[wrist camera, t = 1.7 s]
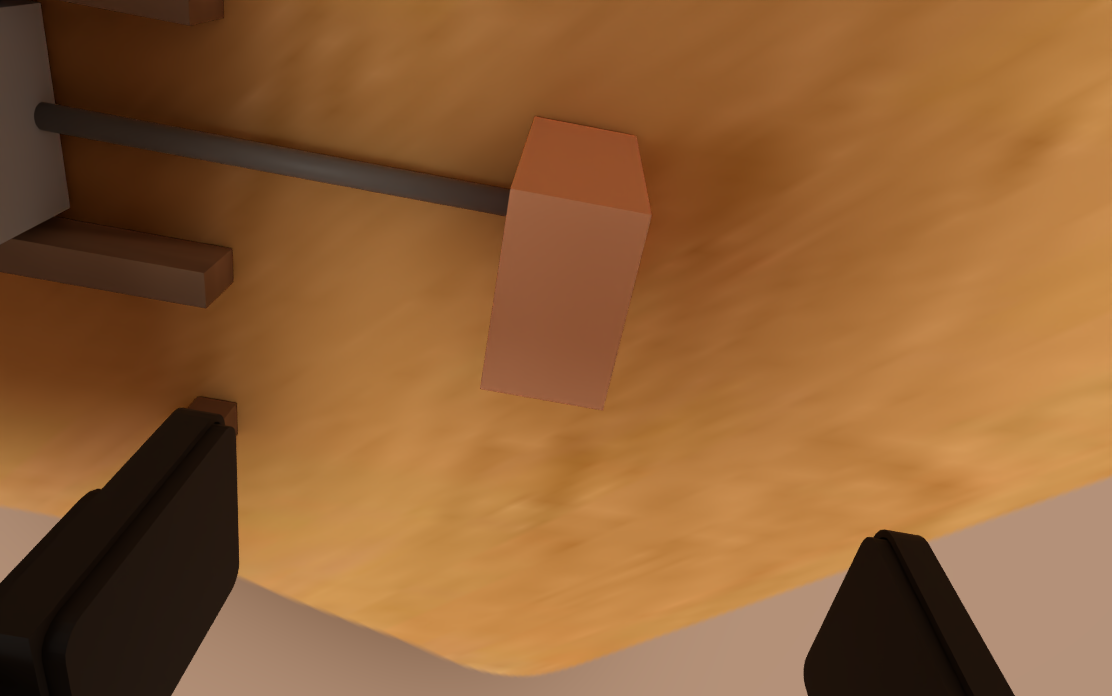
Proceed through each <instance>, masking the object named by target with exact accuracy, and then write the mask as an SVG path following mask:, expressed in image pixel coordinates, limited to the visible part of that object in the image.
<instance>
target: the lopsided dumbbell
mask: <svg viewBox="0 0 1112 696" xmlns="http://www.w3.org/2000/svg"><path fill="white" fill-rule="evenodd" d="M59 133H60V134H65V135H70V136H76V137H81V138H87V139H92V140H97V141H103V142H108V143H113V144H119V145H124V146H130V147H135V148H140V149H146V150H151V151H157V152H162V153H167V154H173V155H178V156H184V157H189V158H194V159H200V160H205V161H210V162H216V163H221V164H227V165H232V166H237V167H243V168H248V169H254V170H259V171H264V172H270V173H275V174H280V175H286V176H291V177H297V178H302V179H307V180H313V181H318V182H324V183H329V184H334V185H340V186H345V187H351V188H356V189H361V190H367V191H372V192H377V193H383V194H388V195H394V196H399V197H404V198H410V199H415V200H421V201H426V202H431V203H437V204H442V205H447V206H453V207H458V208H464V209H469V210H474V211H480V212H485V213H491V214H496V215H501V216H506V221H505V228H504V235H503V241H502V248H501V254H500V261H499V268H498V274H497V281H496V287H495V294H494V301H493V307H492V314H491V320H490V327H489V334H488V340H487V347H486V353H485V360H484V367H483V373H482V380H481V386H480V389H483V390H489V391H495V392H501V393H506V394H512V395H518V396H523V397H529V398H535V399H541V400H546V401H552V402H558V403H563V404H569V405H575V406H581V407H586V408H592V409H598V410H603V408H604V404H605V400H606V396H607V392H608V388H609V384H610V380H611V376H612V372H613V368H614V364H615V360H616V356H617V352H618V348H619V344H620V340H621V336H622V332H623V328H624V324H625V320H626V316H627V312H628V308H629V304H630V300H631V296H632V292H633V288H634V284H635V280H636V276H637V272H638V268H639V264H640V260H641V256H642V253H643V249H644V245H645V241H646V237H647V233H648V229H649V225H650V221H651V217H652V213H651V208H650V203H649V198H648V193H647V188H646V182H645V177H644V172H643V167H642V162H641V157H640V152H639V147H638V142H637V137H636V136H635V135H630V134H624V133H619V132H614V131H609V130H603V129H598V128H593V127H588V126H583V125H577V124H572V123H567V122H562V121H557V120H551V119H546V118H541V117H536V116H535V117H534V120H533V123H532V126H531V129H530V132H529V135H528V138H527V141H526V144H525V147H524V150H523V153H522V156H521V159H520V162H519V165H518V168H517V171H516V174H515V176H514V179H513V182H512V185H511V188H510V189H505V188H500V187H495V186H489V185H484V184H479V183H473V182H468V181H463V180H457V179H452V178H447V177H441V176H436V175H431V174H425V173H420V172H415V171H409V170H404V169H399V168H393V167H388V166H383V165H377V164H372V163H367V162H361V161H356V160H351V159H345V158H340V157H334V156H329V155H324V154H318V153H313V152H308V151H302V150H297V149H292V148H286V147H281V146H276V145H270V144H265V143H260V142H254V141H249V140H244V139H238V138H233V137H228V136H222V135H217V134H212V133H206V132H201V131H196V130H190V129H185V128H180V127H174V126H169V125H164V124H158V123H153V122H148V121H142V120H137V119H132V118H126V117H121V116H116V115H110V114H105V113H100V112H94V111H89V110H84V109H78V108H73V107H67V106H62V105H57V104H55V99H54V92H53V86H52V79H51V72H50V65H49V58H48V51H47V44H46V37H45V30H44V24H43V17H42V10H41V3H39V2H34V1H29V0H0V244H2V243H4V242H6V241H8V240H10V239H12V238H14V237H15V236H17V235H19V234H21V233H23V232H25V231H27V230H29V229H31V228H33V227H35V226H36V225H38V224H40V223H42V222H44V221H46V220H48V219H50V218H52V217H54V216H56V215H57V214H59V213H61V212H63V211H65V210H67V209H69V208H70V203H69V196H68V189H67V182H66V175H65V168H64V161H63V154H62V148H61V141H60V134H59Z"/></svg>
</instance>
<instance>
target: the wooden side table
mask: <svg viewBox="0 0 1112 696" xmlns="http://www.w3.org/2000/svg"><path fill="white" fill-rule="evenodd" d="M60 1H65V2H70V3H75V4H81V5H86V6H91V7H96V8H101V9H106V10H112V11H117V12H122V13H127V14H132V15H137V16H143V17H148V18H153V19H158V20H163V21H168V22H174V23H179V24H184V25H189V26H191V25H195V24H199V23H204V22H208V21H212V20H217V19H221V18H224V12H223V0H60ZM0 272H3V273H9V274H15V275H20V276H26V277H32V278H37V279H43V280H49V281H54V282H60V283H66V284H71V285H77V286H83V287H88V288H94V289H99V290H105V291H111V292H116V293H122V294H128V295H133V296H139V297H145V298H150V299H156V300H162V301H167V302H173V303H179V304H184V305H190V306H196V307H201V308H207V307H208V306H209V305H210V304H211V303H212V302H213V301H214V300H215V299H216V298H217V297H218V296H219V295H220V294H221V293H222V292H224V291H225V290H226V289H227V288H228V287H229V286H230V285H231V284H232V283H233V259H232V249H231V248H225V247H220V246H214V245H209V244H203V243H198V242H192V241H187V240H181V239H176V238H170V237H164V236H159V235H153V234H148V233H142V232H137V231H131V230H126V229H120V228H115V227H109V226H104V225H98V224H93V223H87V222H81V221H76V220H70V219H65V218H59V217H52V218H50V219H48V220H46V221H44V222H42V223H40V224H38V225H36V226H35V227H33V228H31V229H29V230H27V231H25V232H23V233H21V234H19V235H17V236H15V237H14V238H12V239H10V240H8V241H6V242H4V243H2V244H0ZM187 409H193V410H199V411H205V412H210V413H216V414H220V415H222V416H223V418H224V420H225V425H226V426H232V427H233V428H234V429H235V432H236V435H237V434H238V433H237V406H236V403H233V402H227V401H221V400H216V399H210V398H204V397H197V398H196V399H195V400H194V401H193V403H192V404H191V405H190V406H189V407H188V408H187Z"/></svg>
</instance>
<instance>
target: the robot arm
mask: <svg viewBox="0 0 1112 696" xmlns="http://www.w3.org/2000/svg"><path fill="white" fill-rule="evenodd" d="M238 569H239V537H238V497H237V456H236V432H235V429H234V428H233V427H232V426H226V425H225V420H224V418H223V416H222V415H220V414H216V413H210V412H205V411H199V410H193V409H187V408H178V409H177V410H175V411H174V412H173V413H172V414H171V415H170V416H169V417H168V418H167V419H166V420H165V422H164V423H163V424H162V425H161V426H160V427H159V428H158V429H157V430H156V431H155V432H154V433H153V434H152V436H151V437H150V438H149V439H148V440H147V441H146V442H145V443H144V444H143V445H142V446H141V447H140V448H139V450H138V451H137V452H136V453H135V454H134V455H133V456H132V457H131V458H130V459H129V460H128V461H127V462H126V464H125V465H124V466H123V467H122V468H121V469H120V470H119V471H118V472H117V473H116V474H115V475H114V476H113V478H112V479H111V480H110V481H109V482H108V483H107V484H106V485H105V486H104V487H103V488H102V489H95V490H93V491H90V492H88V493H87V494H86V495H85V496H83V497H82V498H81V499H80V500H79V501H78V502H77V503H76V504H75V505H74V506H73V507H72V508H71V509H70V510H69V511H68V512H67V514H66V515H65V516H64V517H63V518H62V519H61V520H60V521H59V522H58V523H57V524H56V525H55V526H54V527H53V528H52V529H51V530H50V531H49V533H48V534H47V535H46V536H45V537H44V538H43V539H42V540H41V541H40V542H39V543H38V544H37V545H36V546H35V547H34V548H33V549H32V550H31V551H30V552H29V554H28V555H27V556H26V557H25V558H24V559H23V560H22V561H21V562H20V563H19V564H18V565H17V566H16V567H15V568H14V569H13V570H12V571H11V572H10V573H9V574H8V576H7V577H6V578H5V579H4V580H3V581H2V582H1V583H0V696H171V695H172V693H173V691H174V690H175V688H176V686H177V684H178V683H179V681H180V679H181V677H182V676H183V674H184V672H185V670H186V669H187V667H188V665H189V664H190V662H191V660H192V658H193V656H194V655H195V653H196V651H197V650H198V648H199V646H200V644H201V643H202V641H203V639H204V637H205V636H206V634H207V632H208V631H209V629H210V627H211V625H212V624H213V622H214V620H215V618H216V616H217V615H218V613H219V611H220V610H221V608H222V606H223V604H224V603H225V601H226V599H227V597H228V595H229V594H230V592H231V590H232V588H233V586H234V584H235V581H236V578H237V574H238ZM804 682H805V687H806V690H807V694H808V696H1015V695H1014V694H1013V692H1012V690H1011V688H1010V686H1009V685H1008V683H1007V681H1006V680H1005V678H1004V676H1003V674H1002V672H1001V671H1000V669H999V667H998V665H997V664H996V662H995V660H994V659H993V657H992V655H991V653H990V651H989V649H988V648H987V646H986V644H985V642H984V641H983V639H982V637H981V635H980V634H979V632H978V630H977V628H976V627H975V625H974V623H973V621H972V620H971V618H970V616H969V614H968V613H967V611H966V609H965V607H964V606H963V604H962V602H961V600H960V598H959V597H958V595H957V593H956V591H955V590H954V588H953V586H952V584H951V583H950V581H949V579H948V577H947V576H946V574H945V572H944V570H943V568H942V567H941V565H940V563H939V561H938V560H937V558H936V556H935V554H934V553H933V551H932V549H931V548H930V546H929V544H928V542H927V541H926V540H925V539H924V538H923V537H921V536H919V535H913V534H907V533H901V532H896V531H890V530H880V531H879V532H877V533H876V534H875V536H874V537H867V538H865V539H864V540H863V542H862V543H861V545H860V547H859V549H858V551H857V553H856V556H855V558H854V560H853V562H852V564H851V566H850V568H849V570H848V572H847V574H846V576H845V579H844V580H843V583H842V585H841V587H840V589H839V591H838V593H837V595H836V597H835V599H834V601H833V603H832V605H831V607H830V610H829V611H828V613H827V616H826V618H825V620H824V622H823V624H822V626H821V628H820V630H819V632H818V634H817V636H816V638H815V640H814V642H813V644H812V647H811V649H810V651H809V653H808V655H807V657H806V660H805V664H804Z"/></svg>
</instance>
